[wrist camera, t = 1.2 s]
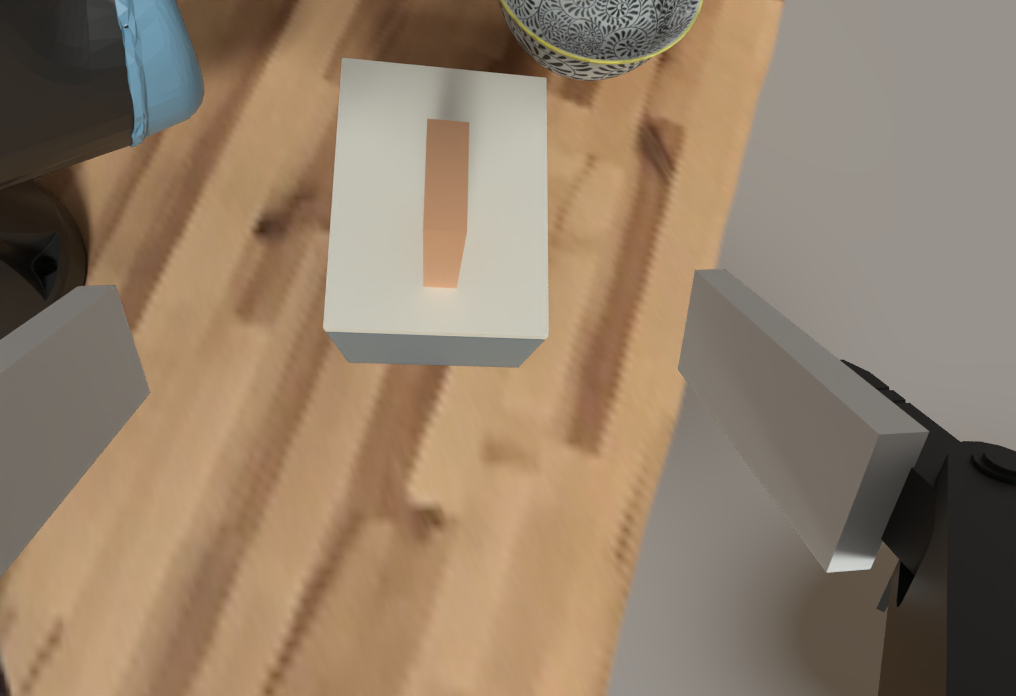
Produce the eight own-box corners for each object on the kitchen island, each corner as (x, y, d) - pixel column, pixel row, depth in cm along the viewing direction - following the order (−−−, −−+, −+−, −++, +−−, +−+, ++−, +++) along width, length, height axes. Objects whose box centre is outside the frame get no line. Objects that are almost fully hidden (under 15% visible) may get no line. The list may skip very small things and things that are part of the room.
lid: (343, 66, 34) (317, -65, 26) (543, 86, 36) (580, -32, 27) (325, 331, 31) (288, 281, 23) (545, 339, 33) (588, 295, 24)
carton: (361, 153, 44) (344, 70, 35) (518, 165, 45) (542, 89, 36) (348, 362, 41) (326, 332, 31) (518, 367, 42) (544, 340, 33)
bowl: (501, -67, 49) (514, -159, 42) (676, -13, 51) (719, -92, 44) (457, 93, 46) (464, 23, 39) (648, 147, 47) (688, 90, 40)
